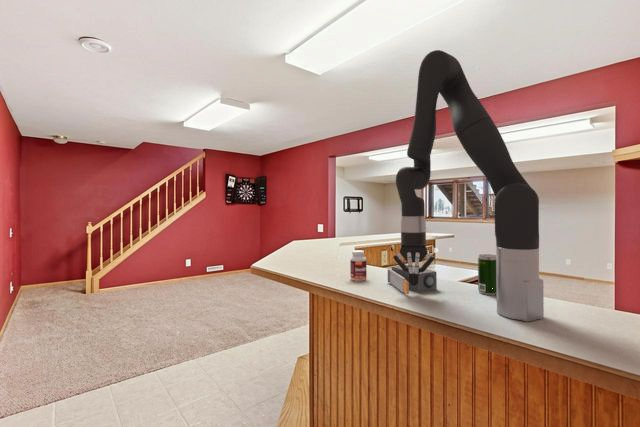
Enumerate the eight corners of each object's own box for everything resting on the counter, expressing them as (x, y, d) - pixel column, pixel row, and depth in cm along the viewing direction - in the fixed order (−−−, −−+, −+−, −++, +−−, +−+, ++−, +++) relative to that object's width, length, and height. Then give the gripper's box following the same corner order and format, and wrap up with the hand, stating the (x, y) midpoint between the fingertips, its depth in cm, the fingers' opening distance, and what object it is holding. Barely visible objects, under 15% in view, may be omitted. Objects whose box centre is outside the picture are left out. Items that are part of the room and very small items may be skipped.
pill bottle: (355, 282, 118) (354, 252, 118) (347, 278, 124) (347, 250, 123) (369, 280, 120) (369, 251, 120) (361, 277, 126) (361, 249, 126)
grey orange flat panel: (408, 295, 98) (408, 280, 98) (404, 295, 98) (404, 280, 98) (391, 281, 116) (390, 269, 116) (387, 281, 116) (387, 269, 115)
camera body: (437, 289, 105) (437, 270, 105) (418, 292, 102) (418, 272, 102) (409, 280, 118) (409, 263, 118) (391, 282, 115) (391, 265, 115)
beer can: (491, 296, 96) (491, 257, 96) (474, 292, 101) (474, 255, 100) (500, 293, 99) (500, 255, 99) (484, 289, 104) (483, 253, 103)
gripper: (390, 231, 98) (391, 286, 99) (435, 231, 94) (436, 289, 95) (392, 229, 105) (393, 281, 106) (435, 229, 101) (435, 283, 102)
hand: (413, 284), depth 100 cm, fingers closed
